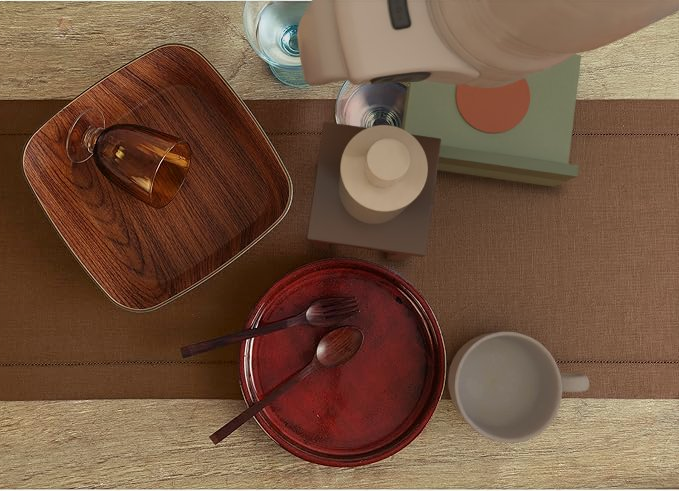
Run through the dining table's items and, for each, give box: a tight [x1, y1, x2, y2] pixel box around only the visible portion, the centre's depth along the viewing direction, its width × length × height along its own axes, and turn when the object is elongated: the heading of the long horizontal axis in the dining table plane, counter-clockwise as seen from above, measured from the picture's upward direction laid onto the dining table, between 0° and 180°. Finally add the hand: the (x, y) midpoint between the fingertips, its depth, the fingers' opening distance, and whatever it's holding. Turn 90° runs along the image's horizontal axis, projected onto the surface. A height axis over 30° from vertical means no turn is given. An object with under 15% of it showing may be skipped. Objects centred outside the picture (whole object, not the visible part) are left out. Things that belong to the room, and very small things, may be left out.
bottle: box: [338, 124, 428, 224], centre depth 45 cm, size 6×6×12 cm
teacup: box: [447, 331, 590, 445], centre depth 64 cm, size 14×11×8 cm
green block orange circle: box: [401, 54, 582, 188], centre depth 66 cm, size 14×18×7 cm
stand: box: [306, 121, 441, 261], centre depth 60 cm, size 10×10×18 cm
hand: (423, 55), depth 46 cm, fingers open, 8 cm apart
